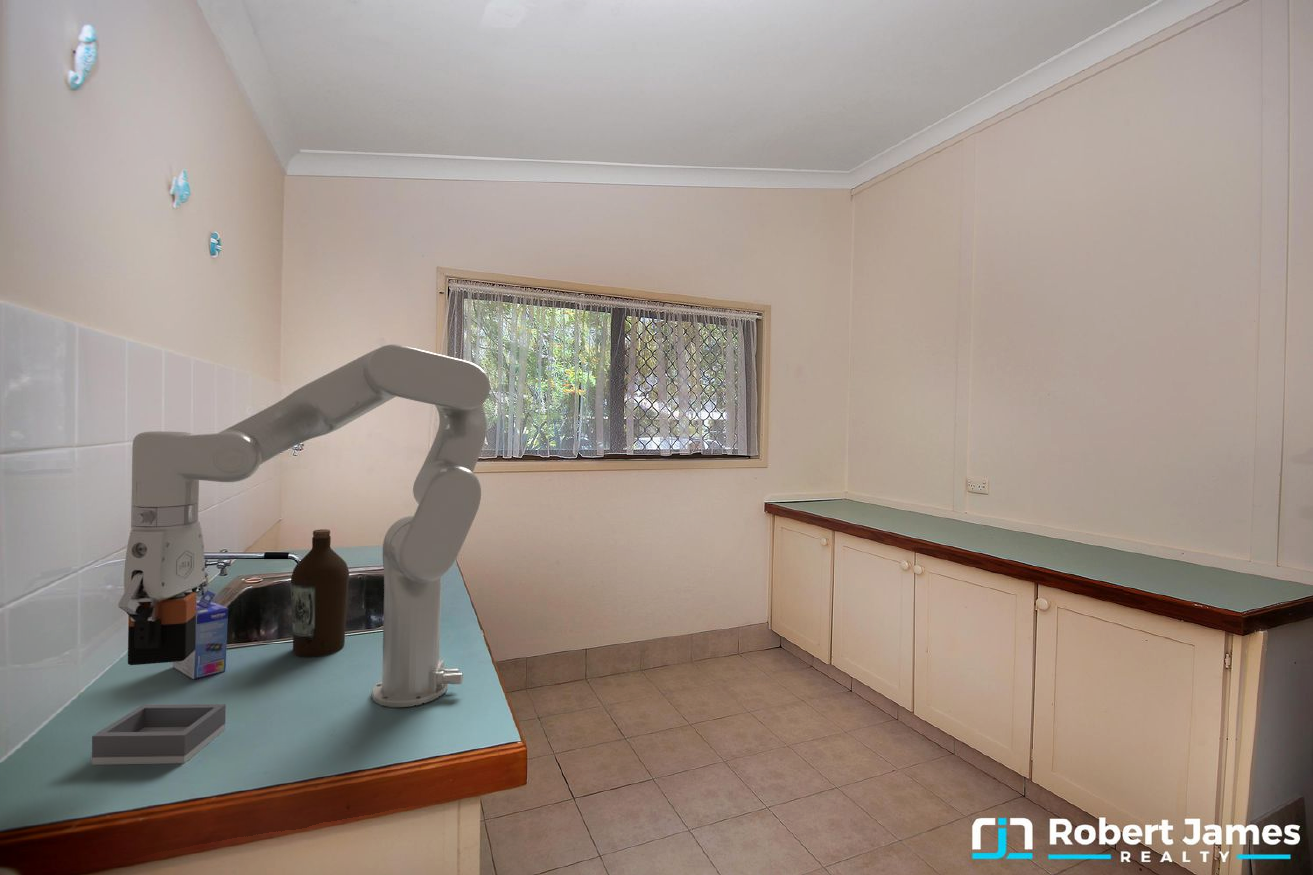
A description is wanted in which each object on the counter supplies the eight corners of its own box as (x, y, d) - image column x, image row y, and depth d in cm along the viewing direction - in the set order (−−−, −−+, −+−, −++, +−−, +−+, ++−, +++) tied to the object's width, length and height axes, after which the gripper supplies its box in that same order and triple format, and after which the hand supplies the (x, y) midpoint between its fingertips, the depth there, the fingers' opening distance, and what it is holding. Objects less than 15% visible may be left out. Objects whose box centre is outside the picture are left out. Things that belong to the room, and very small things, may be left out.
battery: (184, 662, 85) (185, 593, 85) (126, 666, 83) (127, 596, 83) (196, 650, 89) (197, 585, 89) (141, 654, 87) (142, 587, 87)
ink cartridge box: (228, 670, 112) (230, 595, 112) (194, 681, 108) (195, 602, 107) (205, 658, 117) (207, 586, 117) (171, 667, 113) (172, 592, 112)
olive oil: (324, 636, 131) (327, 524, 130) (358, 644, 127) (361, 529, 126) (277, 652, 121) (279, 531, 121) (312, 662, 117) (315, 537, 116)
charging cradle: (225, 729, 92) (225, 704, 92) (184, 763, 83) (184, 735, 83) (142, 730, 91) (142, 704, 91) (91, 764, 82) (92, 736, 82)
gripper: (148, 527, 78) (145, 663, 78) (229, 508, 95) (227, 620, 95) (86, 526, 77) (84, 663, 77) (179, 507, 94) (177, 619, 94)
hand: (163, 638), depth 86 cm, fingers closed on battery, 5 cm apart
